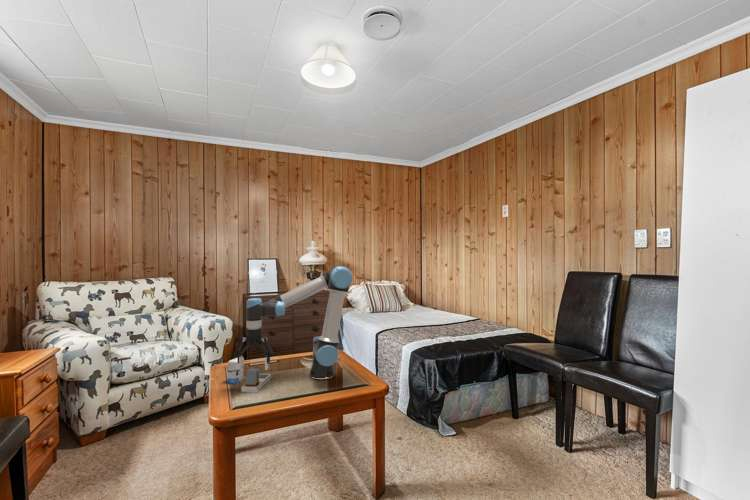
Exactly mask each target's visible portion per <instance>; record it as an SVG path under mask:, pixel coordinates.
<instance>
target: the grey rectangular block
mask: <svg viewBox="0 0 750 500" xmlns="http://www.w3.org/2000/svg"><path fill="white" fill-rule="evenodd" d="M259 374H260V368H257V367H256V368H255V367H250V368H248V369H247V370H246V372H245V376H246V377H245V383H246V386H257V385H258V384H259Z"/></svg>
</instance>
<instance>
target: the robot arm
mask: <svg viewBox="0 0 750 500" xmlns="http://www.w3.org/2000/svg"><path fill="white" fill-rule="evenodd" d="M353 278H354V277H353V273H352V272H351V270H350V269H349V268H348V267H346V266H339V265H338V266H333V267H332V268H330V269H328V270H327V271H325V272H323V273H322V274H320V275H319V277H317V278H315V279H312V280H310V281H308V282H306V283H304V284H302V285H299V286H298V287H295V288H293V289H291V290H289V291H287V292H285V293H283V294H280V295H278V296H276V297H274V298H271V299H269V300H268V301H262V298H260V297H252V298H248V299H247V300H246V307H245V308H246V325H245V326H246V327H245V328H246V329H245V330H246V333H245V334H246V335H245V336H246V337H245V336H243V337H242V336H241V337H240V339H239V343H238V345H237V347H236V349H235V351H234V353H233V356H236V358H238V363H239V370H241V369H242V368H243V359H244V356H243V354H244V352H246V350H247V349H248V348H249V347H258V348H259V349H260V350H261V351H262V353H263V354H264V355H265V357H264V370H265V371H268V369H269V364H270V363H271V357H272V356H274V354H275V353H274V351H273V348H272V346H271V345H270V343H269V339H268V337H267V336H265V337H263V336H262V335H263V334H262V331H263V330H262V325H263V324H262V321H263V320H262V317H280V316H285V314H286V308H287V307H290V306H291V305H294V304H296V303H298V302H300V301H303V300H304V299H306V298H308V297H312V296H313V295H315V294H316V293H319V292H322V291H324V290H325V289H326V290H328V292H329V294H328V300H327V305H326V310H325V311H326V312H325V316H324V321H323V327H322V333H321V335H319V336H318V335H317V336H314V337H313V339H312V340H313V341H312V364H311V367H310V370H309V372H308V376H310V377H314V378H325V377H331V376H333V375H335V376H336V374H335V373H336V369H335V366H334V364H335V363H336V362H338V359H339V344H340V340H339V338H338V335H339V330H340V324H341V319H342V313H343V308H344V302H345V298H346V295H347V294H348V293H349V290H350V285H351V284H352V283H353ZM244 342H246V344H245V345H244V347H243V348H242V346H243V344H244ZM241 348H242V349H241ZM310 377H309V378H310Z"/></svg>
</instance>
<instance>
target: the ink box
mask: <svg viewBox="0 0 750 500" xmlns="http://www.w3.org/2000/svg"><path fill="white" fill-rule="evenodd" d="M244 367H245V358H243V368H242V369H241V370H239V363H238V357H235V358H233V359H230V360H228V362H227V381H226V382H227V384H230V385H231V384H232V385H235V384H237V383H240V382H241V381H242V380H243V381H244V375H245V374H244V370H245V368H244Z"/></svg>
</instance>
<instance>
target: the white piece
mask: <svg viewBox="0 0 750 500" xmlns="http://www.w3.org/2000/svg"><path fill="white" fill-rule="evenodd" d="M271 379H272V373H259V384H258V385H257V386H246V382H245V383H243V384H242V386H241V387H240V392H241V393H258V392H260V390H261V389H262V388H263V387H264V386H265V385H266V384H267V383H268V382H269V381H270V380H271Z"/></svg>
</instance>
